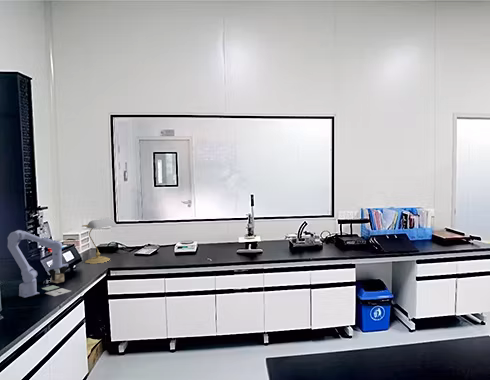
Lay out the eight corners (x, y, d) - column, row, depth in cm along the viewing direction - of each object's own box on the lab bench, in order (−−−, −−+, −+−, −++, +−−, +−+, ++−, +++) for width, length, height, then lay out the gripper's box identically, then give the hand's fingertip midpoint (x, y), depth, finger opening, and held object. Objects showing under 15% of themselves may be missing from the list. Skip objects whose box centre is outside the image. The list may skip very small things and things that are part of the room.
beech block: (56, 283, 226) (56, 275, 226) (51, 281, 230) (51, 274, 230) (64, 281, 231) (64, 274, 230) (58, 279, 234) (58, 272, 234)
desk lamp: (94, 266, 300) (93, 221, 299) (75, 263, 308) (74, 220, 307) (119, 258, 328) (118, 217, 327) (101, 256, 337) (100, 216, 336)
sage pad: (48, 290, 233) (48, 290, 233) (41, 289, 237) (41, 288, 237) (59, 287, 240) (59, 287, 240) (53, 285, 244) (53, 285, 244)
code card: (54, 296, 222) (54, 296, 222) (44, 293, 228) (44, 293, 228) (71, 291, 232) (71, 291, 232) (61, 288, 238) (61, 288, 238)
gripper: (49, 262, 222) (50, 282, 222) (70, 258, 234) (71, 277, 234) (43, 261, 225) (44, 281, 226) (64, 256, 238) (65, 275, 238)
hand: (57, 279), depth 230 cm, fingers closed on beech block, 5 cm apart
